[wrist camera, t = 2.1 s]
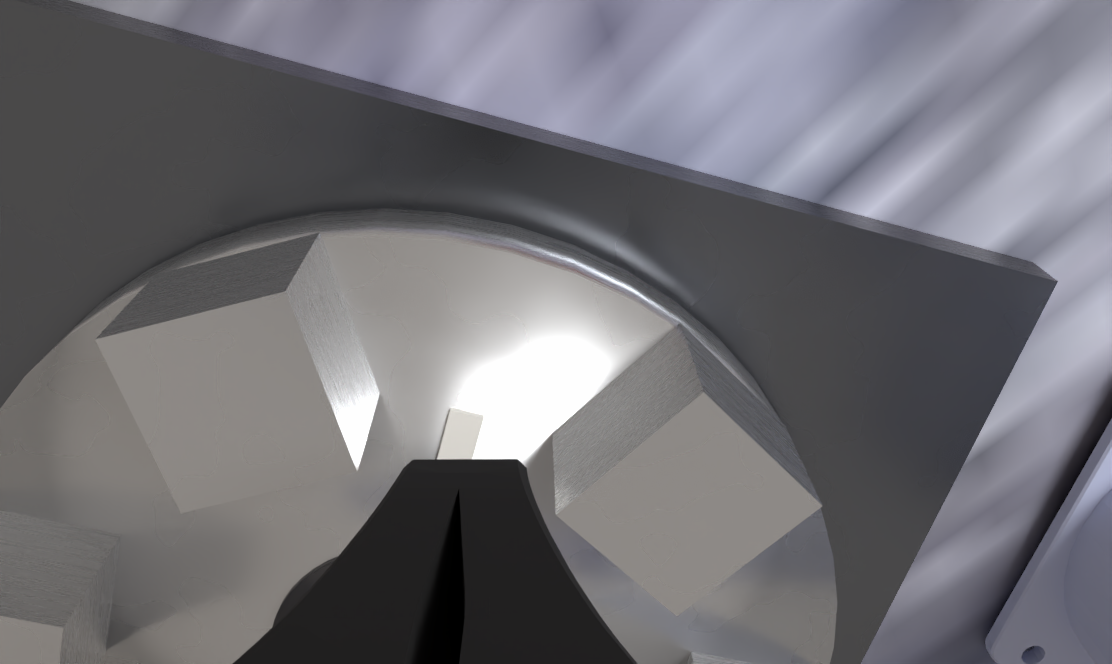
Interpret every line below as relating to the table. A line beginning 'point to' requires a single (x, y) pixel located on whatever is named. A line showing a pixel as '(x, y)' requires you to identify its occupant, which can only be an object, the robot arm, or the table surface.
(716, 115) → the table surface
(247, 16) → the table surface
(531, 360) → the metal disc with lugs
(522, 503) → the robot arm
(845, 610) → the mount plate
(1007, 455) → the table surface
